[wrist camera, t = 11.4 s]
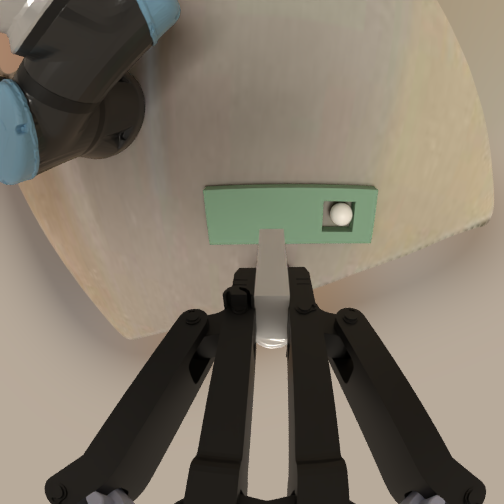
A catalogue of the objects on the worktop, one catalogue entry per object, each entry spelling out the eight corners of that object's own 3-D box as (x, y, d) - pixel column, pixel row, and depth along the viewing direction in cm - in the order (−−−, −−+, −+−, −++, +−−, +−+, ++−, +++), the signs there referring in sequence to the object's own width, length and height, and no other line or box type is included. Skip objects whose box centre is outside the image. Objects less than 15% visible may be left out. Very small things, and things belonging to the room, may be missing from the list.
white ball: (356, 215, 37) (352, 230, 40) (351, 197, 39) (347, 212, 41) (333, 215, 37) (330, 230, 40) (329, 197, 39) (327, 212, 42)
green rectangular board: (212, 238, 45) (209, 244, 43) (206, 186, 40) (203, 190, 39) (367, 237, 43) (370, 243, 41) (373, 186, 38) (378, 189, 37)
